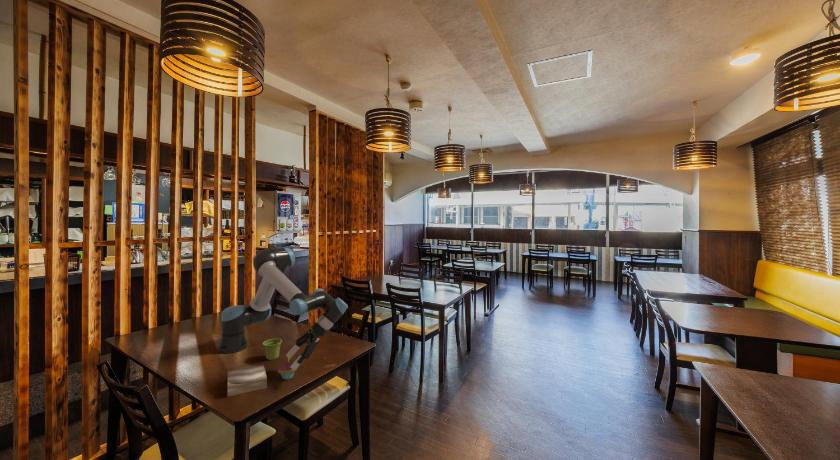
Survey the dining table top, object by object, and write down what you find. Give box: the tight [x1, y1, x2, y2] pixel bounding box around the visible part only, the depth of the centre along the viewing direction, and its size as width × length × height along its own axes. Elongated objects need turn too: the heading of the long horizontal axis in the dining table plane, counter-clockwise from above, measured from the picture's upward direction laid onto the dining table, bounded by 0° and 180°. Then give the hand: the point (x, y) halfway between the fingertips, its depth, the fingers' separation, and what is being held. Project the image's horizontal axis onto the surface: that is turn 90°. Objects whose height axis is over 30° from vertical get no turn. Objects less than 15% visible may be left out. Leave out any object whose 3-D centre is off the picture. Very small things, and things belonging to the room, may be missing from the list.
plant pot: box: [262, 338, 283, 361], centre depth 171 cm, size 9×9×9 cm
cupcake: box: [277, 349, 298, 380], centre depth 151 cm, size 9×8×12 cm
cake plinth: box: [227, 364, 268, 398], centre depth 144 cm, size 15×15×5 cm
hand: (289, 362), depth 150 cm, fingers open, 13 cm apart
